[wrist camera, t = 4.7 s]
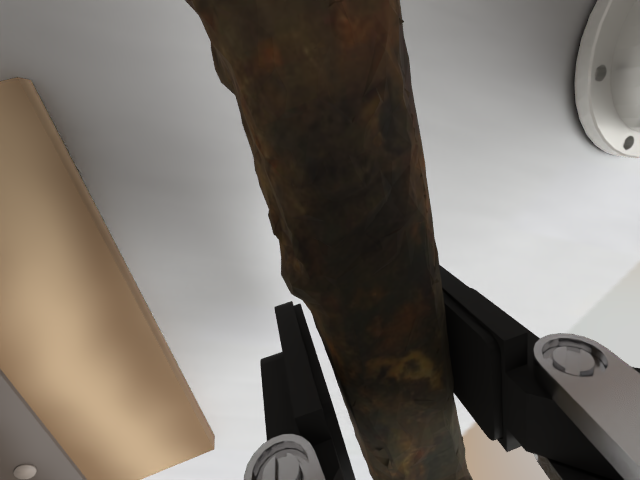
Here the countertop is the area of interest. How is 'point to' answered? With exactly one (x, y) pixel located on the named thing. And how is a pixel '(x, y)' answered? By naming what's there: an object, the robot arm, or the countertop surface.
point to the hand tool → (350, 210)
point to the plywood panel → (76, 326)
